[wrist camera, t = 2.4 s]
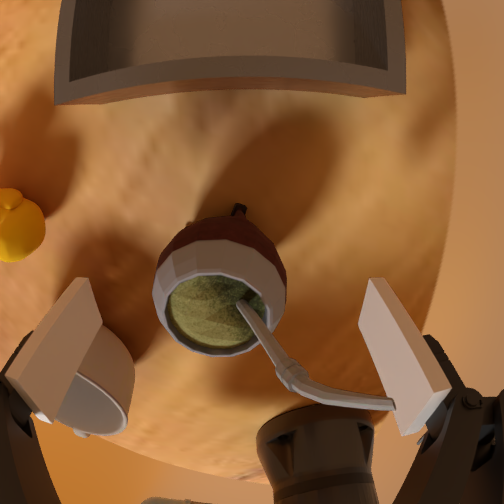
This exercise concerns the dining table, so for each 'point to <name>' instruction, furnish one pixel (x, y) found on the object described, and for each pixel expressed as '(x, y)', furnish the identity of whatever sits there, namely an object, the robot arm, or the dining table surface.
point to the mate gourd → (235, 301)
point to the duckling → (19, 226)
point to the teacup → (100, 389)
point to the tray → (227, 47)
